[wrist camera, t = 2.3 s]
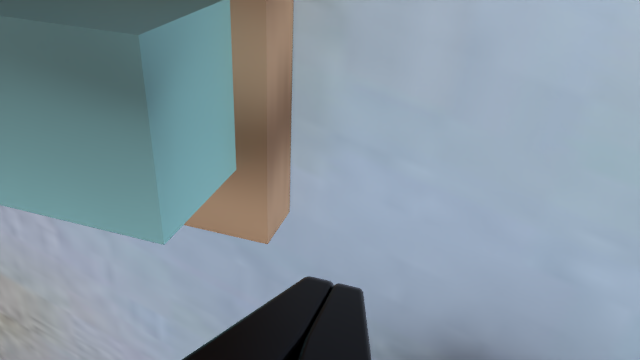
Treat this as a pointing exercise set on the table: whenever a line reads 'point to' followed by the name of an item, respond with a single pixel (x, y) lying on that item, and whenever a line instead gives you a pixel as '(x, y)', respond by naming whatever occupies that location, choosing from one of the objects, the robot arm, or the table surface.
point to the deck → (257, 125)
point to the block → (115, 110)
